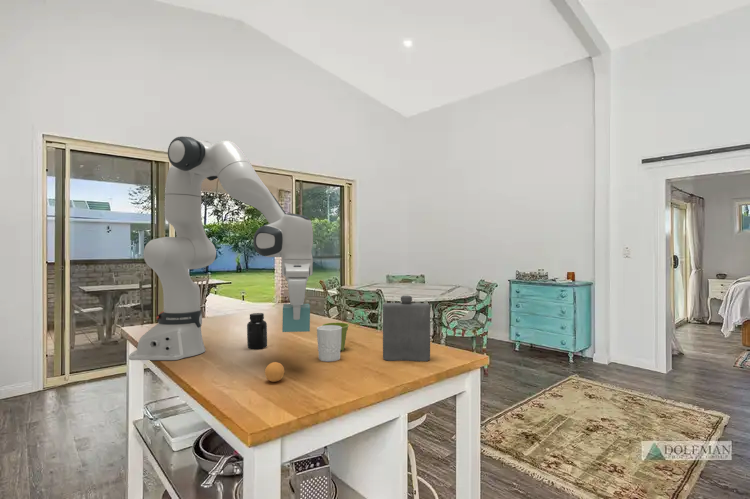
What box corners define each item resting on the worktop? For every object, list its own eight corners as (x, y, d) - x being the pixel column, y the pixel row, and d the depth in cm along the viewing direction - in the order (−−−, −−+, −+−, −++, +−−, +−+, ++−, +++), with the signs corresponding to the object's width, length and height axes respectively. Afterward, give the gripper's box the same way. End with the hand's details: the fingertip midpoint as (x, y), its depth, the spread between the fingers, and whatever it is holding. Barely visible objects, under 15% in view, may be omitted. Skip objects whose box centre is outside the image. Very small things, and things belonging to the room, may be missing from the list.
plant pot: (348, 353, 135) (347, 327, 135) (319, 353, 135) (319, 327, 135) (350, 346, 144) (350, 322, 144) (323, 346, 144) (323, 322, 144)
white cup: (337, 363, 123) (337, 330, 123) (313, 361, 125) (313, 329, 125) (344, 356, 131) (344, 325, 131) (321, 355, 133) (321, 324, 133)
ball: (264, 385, 103) (264, 365, 103) (265, 378, 108) (265, 360, 108) (284, 383, 104) (284, 364, 104) (284, 377, 109) (284, 359, 109)
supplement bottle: (261, 344, 148) (261, 311, 148) (270, 347, 143) (270, 313, 143) (243, 347, 143) (243, 313, 143) (252, 350, 138) (252, 316, 138)
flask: (429, 357, 130) (429, 295, 130) (430, 362, 124) (430, 297, 124) (383, 355, 131) (383, 294, 131) (382, 360, 126) (382, 296, 126)
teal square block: (282, 332, 113) (282, 307, 113) (283, 326, 120) (283, 304, 120) (309, 331, 114) (310, 307, 114) (308, 326, 122) (309, 303, 122)
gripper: (286, 267, 127) (286, 310, 127) (285, 271, 107) (284, 323, 107) (307, 267, 128) (306, 310, 128) (309, 271, 108) (308, 322, 108)
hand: (296, 316), depth 117 cm, fingers closed on teal square block, 8 cm apart
